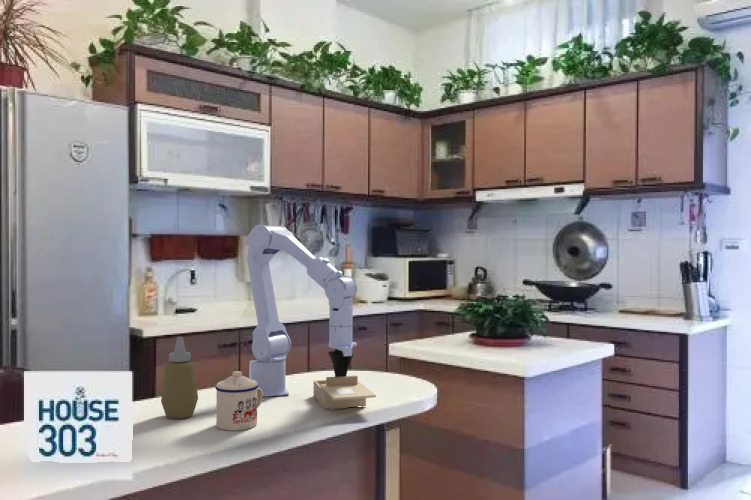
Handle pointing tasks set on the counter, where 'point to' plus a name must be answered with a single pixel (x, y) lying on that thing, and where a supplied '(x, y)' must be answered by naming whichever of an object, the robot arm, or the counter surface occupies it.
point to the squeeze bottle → (179, 384)
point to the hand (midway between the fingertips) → (340, 380)
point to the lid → (346, 388)
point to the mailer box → (334, 404)
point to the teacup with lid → (237, 402)
